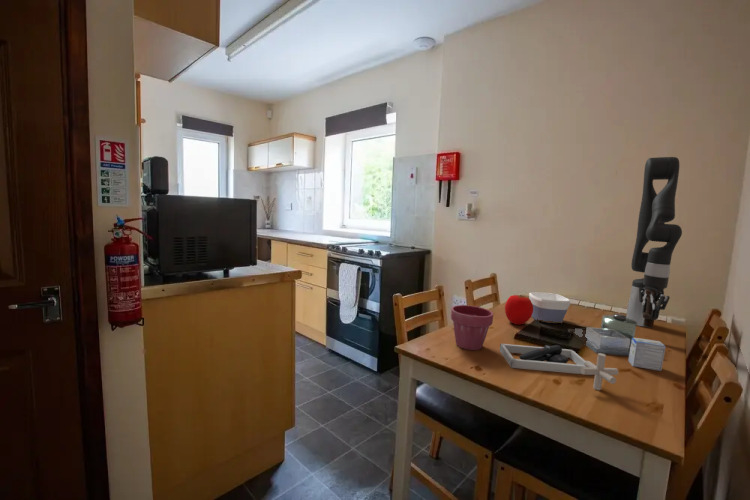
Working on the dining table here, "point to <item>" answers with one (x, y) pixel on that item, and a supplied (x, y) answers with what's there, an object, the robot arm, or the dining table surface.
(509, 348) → the gray parallelogram frame
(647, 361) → the medicine box
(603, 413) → the dining table surface
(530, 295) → the bowl
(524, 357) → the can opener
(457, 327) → the plant pot
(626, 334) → the motor mount
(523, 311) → the tomato
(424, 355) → the dining table surface
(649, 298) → the bolt
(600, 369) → the pipe connector
